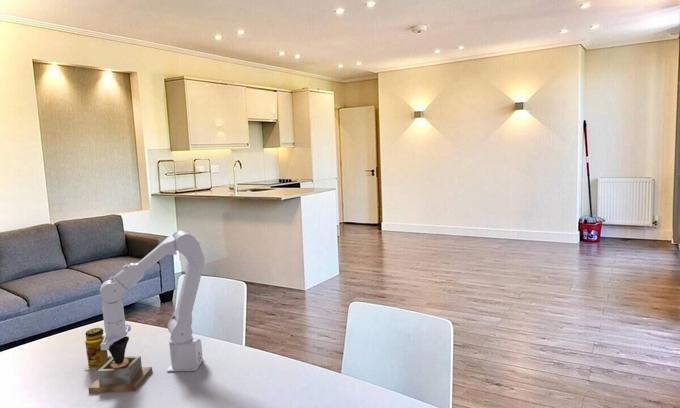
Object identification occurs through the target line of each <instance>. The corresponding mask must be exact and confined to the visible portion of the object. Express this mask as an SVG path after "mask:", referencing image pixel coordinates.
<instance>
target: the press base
mask: <svg viewBox="0 0 680 408" xmlns="http://www.w3.org/2000/svg"><path fill="white" fill-rule="evenodd" d="M124 358H126V359H128V361H129V365H128V366H127V367H126V368H122V369H111V363H112V362H113V361H114V359H113V357H112V358H111V359H110V360H109V361H108V362H107V363H106V364H104V365H103V366H102V367H101V368H98V370H97V377H98V378H97V379H96V380H95V381H94V382H93V383H92V384H91V385H90V386H89V387H88V388H87V389H88V393H90V394H91V393H93V394H95V393H118V392H119V393H121V392H124V393H125V392H136V391H137V390H138V389H139V388H140V387H141V385H142V384H143V383H144V382H145V381H146V380H147V378H148V377H149V376H150V375H151V374H152V372H153V366H143V365H142V364H143V363H142V356H141V355H133V356H131V355H129V356H124Z"/></svg>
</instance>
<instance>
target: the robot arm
mask: <svg viewBox="0 0 680 408" xmlns="http://www.w3.org/2000/svg"><path fill="white" fill-rule="evenodd" d="M200 243H201V242H199V240H198V239H196V237H195V236H193V235H192V234H191V233H190V232H189V231H188V230H185V229H180V230H176V231H175V232H174V233H173V234H170V235H169V236H168V237H166V238H165V239H164V240H163V241H162V242H160V243H159V244H158V245H157V246H156V247H154V249H152V250H151V251H150V252H149V253H147V254H146V255H145V256H144V257H143V258H141V259H140V260H139V261H138V262H130V263H129V264H126V263H125V265H123V266H122V268H123V269H121V270H120V271H119V272H118V273H116V274H115V275H114V276H113V275H111V276H110V277H109V279H108V280H106V281H104V282H102V284H101V285H100V289H99V293H100V298H101V299H102V301H101V305H102V306H101V307H102V308H101V309H102V317H103V318H102V319H103V326H104V332H103V333H104V334H103V335H102V337H103V338H104V340H103V342H102V343H101V344H100V345H101V350H107V351H108V352H109V353H110V356H112V357H113V359H114V362H115V363H122V362H123V361H124V357H126V356H125V354H126V349H127V345H128V342H129V340H130V337H129V336H127V335H128V333H129V332H131V330H132V327H131V324H126V318H125V309H124V303H123V301H122V297H123V294H124V292H127V291H129V289H130V288H132V287H133V286H135V285H136V284H137V283H138V282H139V281H141V280H142V279H144V276H145V271H147V270H148V269H149V268H151V267H152V266H154V265H155V264H157V262H159V261H161V260H162V259H163V258H164V257H166V256H172V255H173V256H176V255H178V253H180V254H181V255H183V256H184V258H185V259H186V260H187V265H186V267H185V268H186V269H185V273H184V275H183V276H184V277H183V280H182V285H181V288H180V292H179V297H178V300H177V305H176V309H175V310H174V312H173V314H172V316H171V318H170V319H169V321H168V323H167V329H168V330H167V331H168V332H169V333H170V337H169V339H168V343H169V345H168V346H169V355H170V365H169V367H168V368H167V370H166V372H168V373H169V372H193V371H197V370H198V369H199V367H200V365H201V364H202V363H203V361H205V359H204V357H203V348H202V347H203V346H202V341H201V339H200V338H194V337H193V329H192V323H193V310H194V306H195V301H196V298H197V293H198V290H199V286H200V282H201V281H200V280H201V277H202V273H203V269H204V265H205V261H206V260H205V259H206V258H205V255H204V253H203V251H202V248H201V245H200ZM177 252H178V253H177Z"/></svg>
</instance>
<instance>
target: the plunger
mask: <svg viewBox="0 0 680 408" xmlns="http://www.w3.org/2000/svg"><path fill="white" fill-rule="evenodd" d="M128 365H129V361H128V359H126V358H124V361H123V362H122V363H115V362H114V361H113V362H112V363H111V369H122V368H126V367H127V366H128Z"/></svg>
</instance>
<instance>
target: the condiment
mask: <svg viewBox="0 0 680 408" xmlns="http://www.w3.org/2000/svg"><path fill="white" fill-rule="evenodd" d="M104 333H105V332H104V329H103V328H101V327H94V328H90V329H88V330H87V331H86V332H85V333H84V335H85V340H84V343H85V349H86V357H87V365H86V368H85V371H91V370H97V369H98V370H99V369H100V368H101V367H102V366H103V365H104V364H106V363H107V362H108V361H109V360H110V359H111V358H112V355H110V356H109V354H108V350H101V345H100V344H101V343H102V342H103V340H104V338H103V337H102V335H103V334H104Z"/></svg>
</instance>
